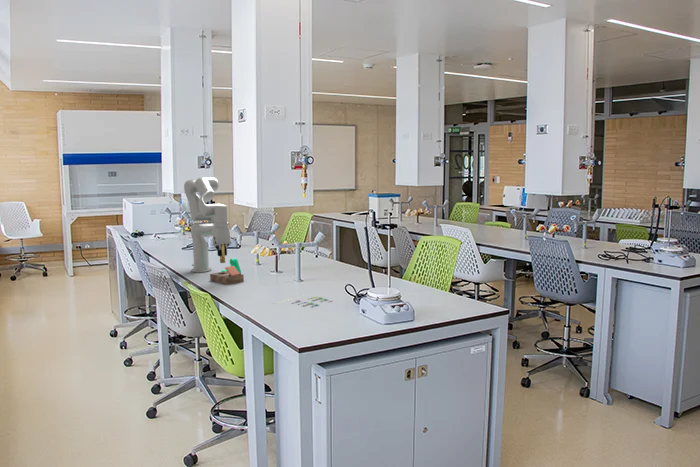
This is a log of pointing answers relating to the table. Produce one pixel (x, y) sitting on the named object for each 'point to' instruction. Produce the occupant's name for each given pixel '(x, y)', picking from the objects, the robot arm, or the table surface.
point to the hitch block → (226, 277)
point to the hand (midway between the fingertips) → (222, 255)
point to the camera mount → (234, 264)
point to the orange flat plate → (232, 271)
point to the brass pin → (222, 258)
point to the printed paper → (304, 302)
